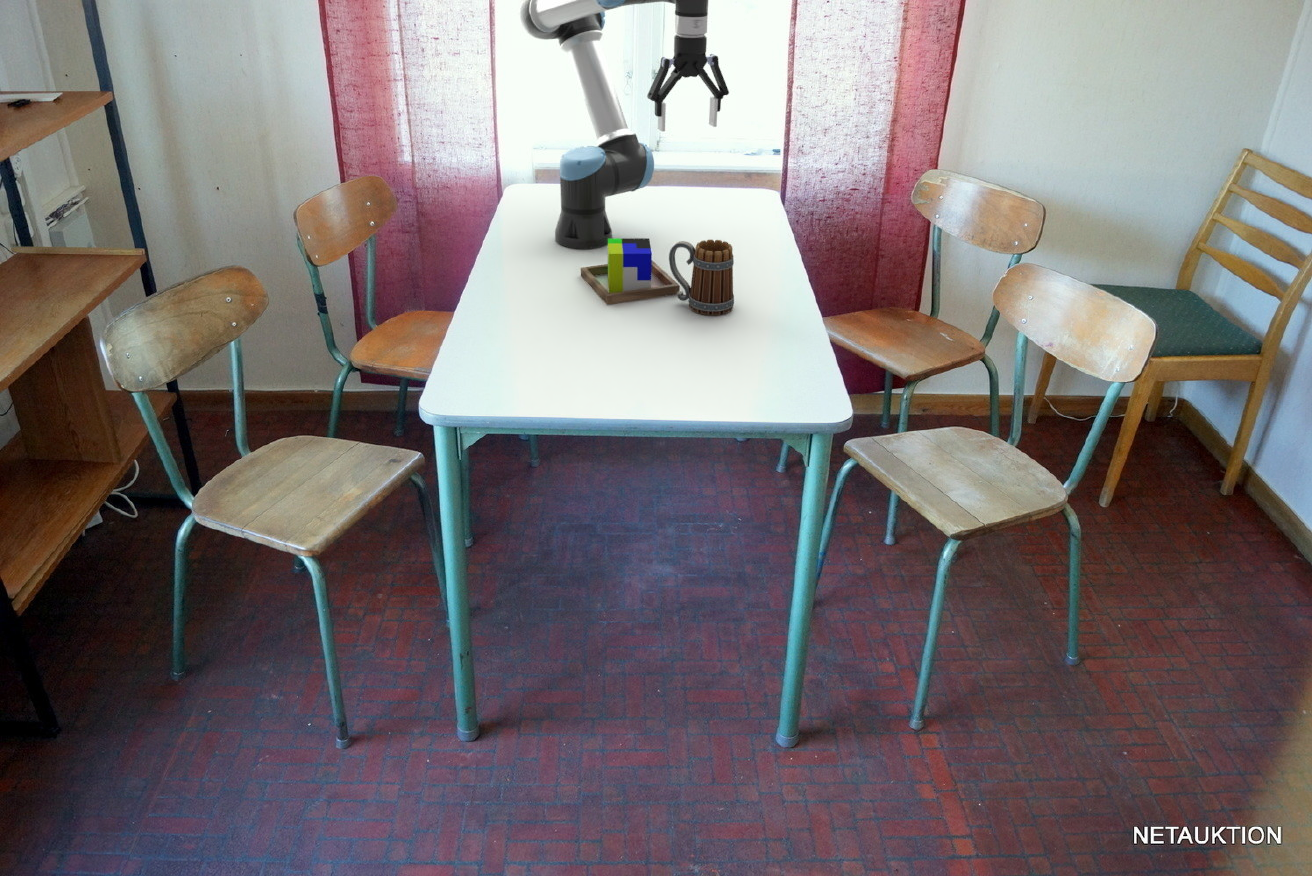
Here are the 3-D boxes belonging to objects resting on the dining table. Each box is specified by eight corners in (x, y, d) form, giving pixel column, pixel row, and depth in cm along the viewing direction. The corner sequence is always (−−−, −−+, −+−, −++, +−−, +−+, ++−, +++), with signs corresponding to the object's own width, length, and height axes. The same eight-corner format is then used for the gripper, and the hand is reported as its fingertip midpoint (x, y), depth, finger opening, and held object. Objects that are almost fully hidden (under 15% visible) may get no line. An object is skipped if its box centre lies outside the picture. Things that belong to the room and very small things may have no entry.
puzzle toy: (650, 293, 243) (651, 253, 238) (608, 293, 242) (608, 253, 237) (648, 277, 251) (649, 238, 246) (607, 277, 251) (607, 238, 246)
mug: (738, 302, 239) (743, 241, 232) (726, 319, 231) (730, 257, 223) (675, 292, 244) (677, 232, 236) (661, 309, 235) (662, 247, 227)
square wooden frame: (580, 276, 251) (580, 267, 250) (649, 266, 257) (649, 258, 256) (607, 305, 236) (607, 296, 235) (679, 294, 243) (679, 285, 242)
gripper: (646, 40, 228) (645, 136, 239) (746, 34, 237) (740, 127, 248) (634, 34, 234) (633, 128, 245) (731, 29, 243) (726, 120, 254)
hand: (687, 128), depth 247 cm, fingers open, 13 cm apart
